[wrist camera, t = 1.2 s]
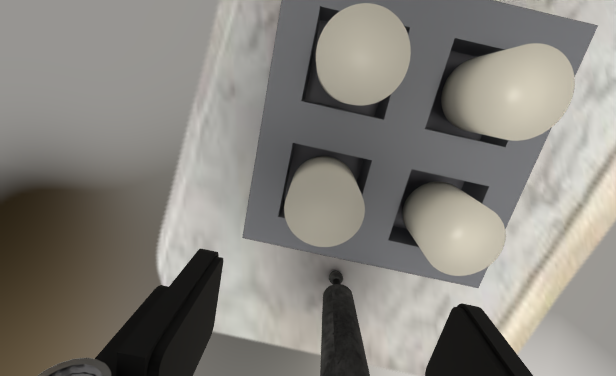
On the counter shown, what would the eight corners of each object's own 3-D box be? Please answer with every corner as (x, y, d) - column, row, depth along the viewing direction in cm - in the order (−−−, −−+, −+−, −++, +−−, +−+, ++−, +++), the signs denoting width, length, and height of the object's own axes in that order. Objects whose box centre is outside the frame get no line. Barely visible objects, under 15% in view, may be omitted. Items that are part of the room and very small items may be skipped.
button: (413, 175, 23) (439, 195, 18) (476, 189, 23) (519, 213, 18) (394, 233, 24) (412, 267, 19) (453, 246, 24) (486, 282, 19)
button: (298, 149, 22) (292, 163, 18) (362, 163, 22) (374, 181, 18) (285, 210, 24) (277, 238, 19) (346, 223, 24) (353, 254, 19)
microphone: (344, 229, 28) (398, 517, 9) (384, 281, 29) (504, 624, 10) (287, 266, 29) (225, 584, 10) (327, 314, 31) (340, 670, 12)
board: (295, -23, 22) (289, -49, 18) (550, 37, 23) (597, 25, 19) (252, 218, 28) (242, 237, 24) (457, 262, 28) (478, 288, 25)
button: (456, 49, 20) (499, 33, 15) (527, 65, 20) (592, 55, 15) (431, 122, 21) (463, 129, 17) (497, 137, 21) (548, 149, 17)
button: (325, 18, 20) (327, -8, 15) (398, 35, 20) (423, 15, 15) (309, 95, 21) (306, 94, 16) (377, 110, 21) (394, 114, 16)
